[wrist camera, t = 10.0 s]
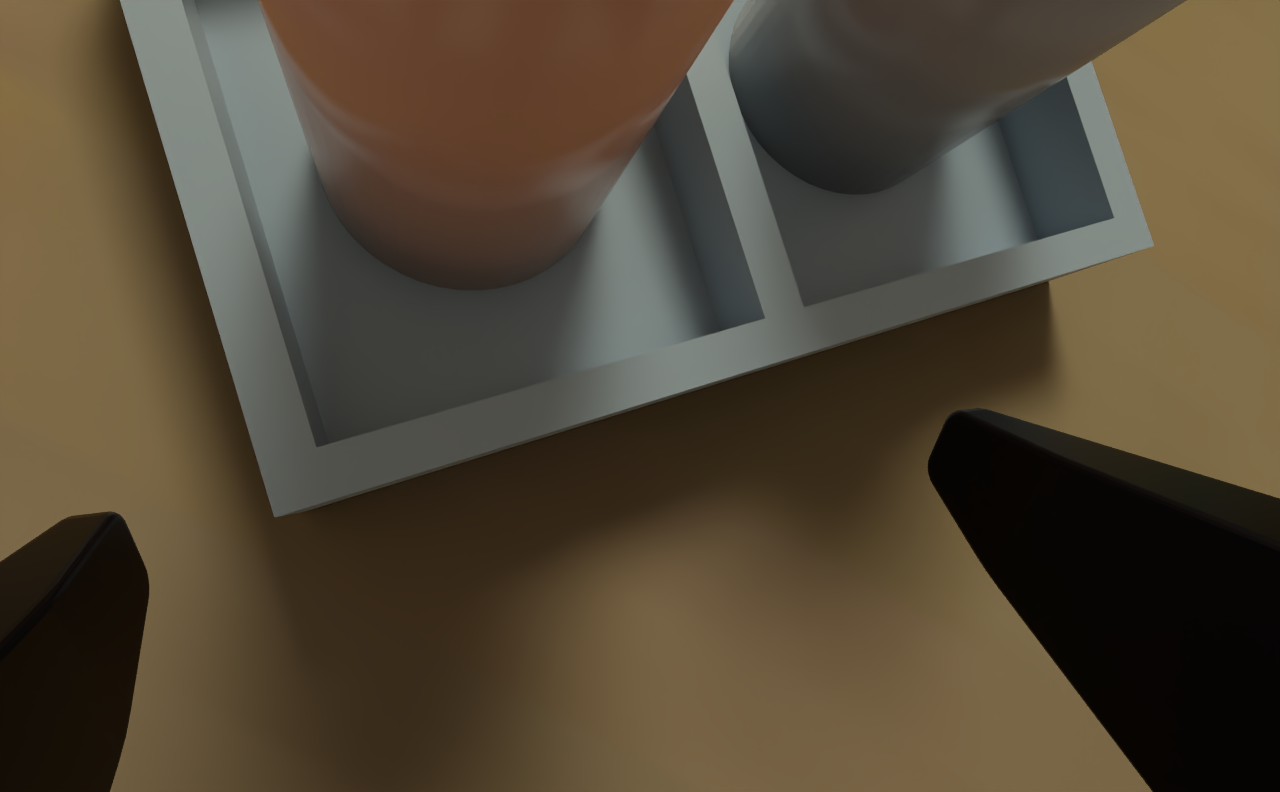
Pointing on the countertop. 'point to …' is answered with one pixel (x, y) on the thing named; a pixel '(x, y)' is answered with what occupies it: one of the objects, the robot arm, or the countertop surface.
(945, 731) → the countertop surface
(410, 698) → the countertop surface
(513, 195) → the peach round cylinder
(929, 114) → the grey cylinder
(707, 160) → the cup rack
